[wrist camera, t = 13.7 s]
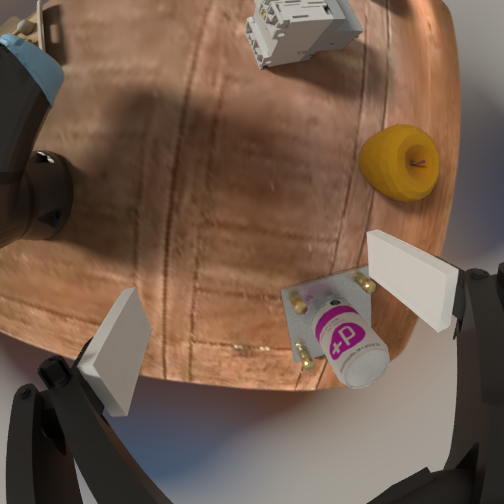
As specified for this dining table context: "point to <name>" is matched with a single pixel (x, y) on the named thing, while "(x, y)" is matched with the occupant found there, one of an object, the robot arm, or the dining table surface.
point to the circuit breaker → (299, 29)
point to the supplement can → (349, 344)
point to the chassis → (316, 294)
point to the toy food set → (33, 29)
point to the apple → (401, 163)
